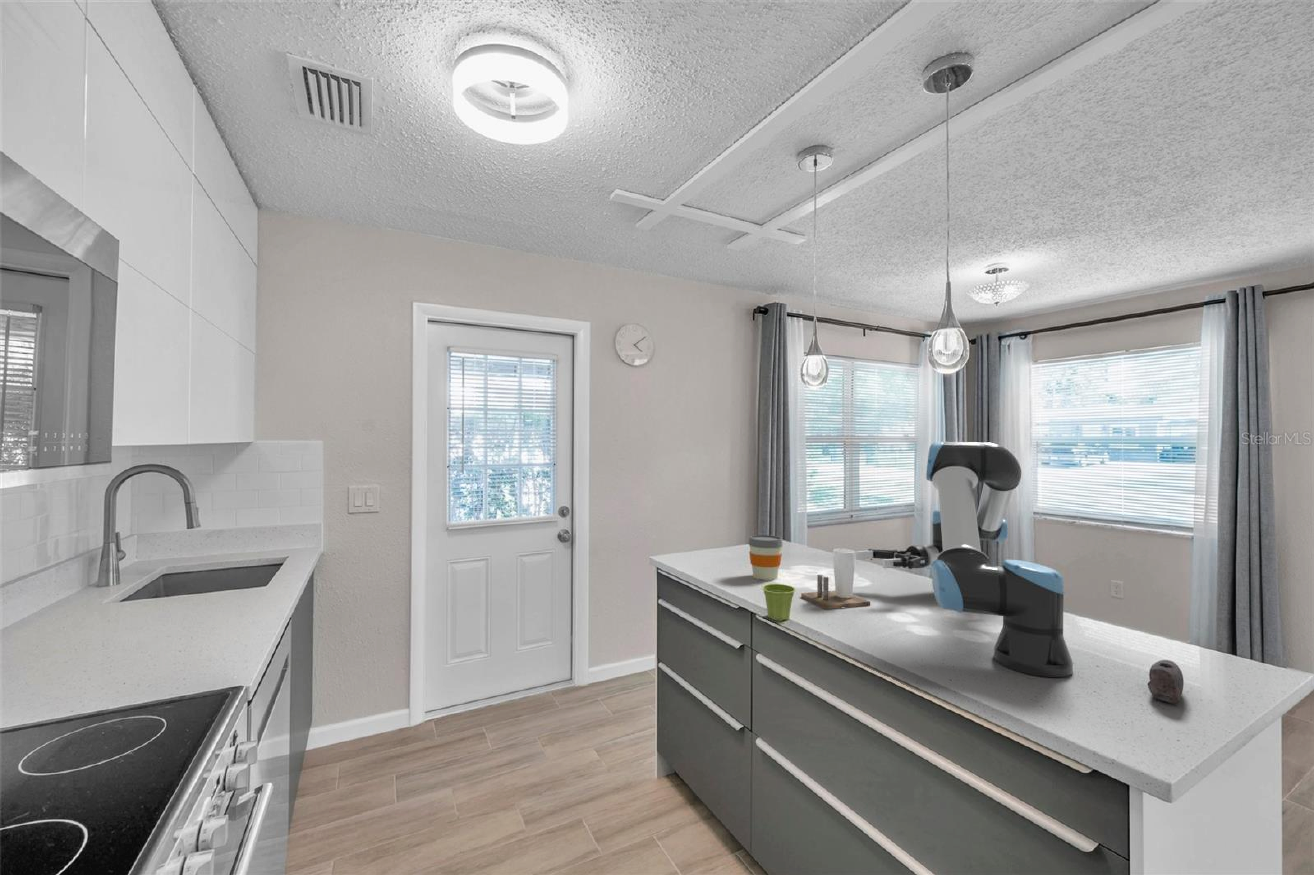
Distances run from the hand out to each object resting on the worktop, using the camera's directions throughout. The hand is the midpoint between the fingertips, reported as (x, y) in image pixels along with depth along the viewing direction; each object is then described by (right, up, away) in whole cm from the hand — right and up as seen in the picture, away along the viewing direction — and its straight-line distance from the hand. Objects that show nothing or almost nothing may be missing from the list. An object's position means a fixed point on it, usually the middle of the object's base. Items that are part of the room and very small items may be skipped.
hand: (869, 559), depth 181 cm
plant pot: (-35, -13, -21) cm, 42 cm away
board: (-13, -13, -4) cm, 18 cm away
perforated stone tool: (+35, -13, -68) cm, 77 cm away
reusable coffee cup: (-29, -13, +26) cm, 41 cm away
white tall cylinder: (-10, -12, -3) cm, 15 cm away
